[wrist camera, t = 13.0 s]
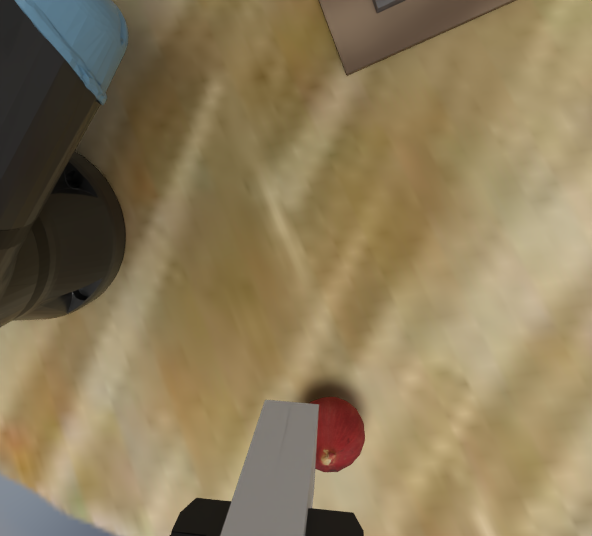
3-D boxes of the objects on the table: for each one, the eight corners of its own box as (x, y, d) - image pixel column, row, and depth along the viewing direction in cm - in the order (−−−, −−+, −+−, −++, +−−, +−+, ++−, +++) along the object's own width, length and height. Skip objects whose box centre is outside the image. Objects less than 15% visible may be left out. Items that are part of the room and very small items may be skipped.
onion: (365, 439, 47) (368, 498, 39) (301, 440, 47) (292, 498, 40) (361, 380, 45) (364, 428, 38) (296, 382, 46) (285, 430, 38)
